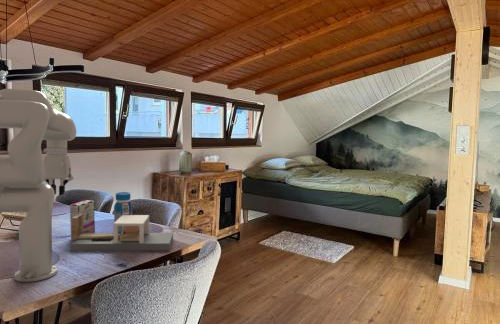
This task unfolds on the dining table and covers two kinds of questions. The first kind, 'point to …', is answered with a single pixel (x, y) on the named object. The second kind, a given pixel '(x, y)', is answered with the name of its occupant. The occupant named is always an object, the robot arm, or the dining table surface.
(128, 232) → the terracotta block
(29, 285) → the dining table surface
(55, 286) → the dining table surface
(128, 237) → the sled
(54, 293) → the dining table surface
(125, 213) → the beverage bottle
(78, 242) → the track board
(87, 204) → the candy bar box
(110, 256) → the dining table surface
